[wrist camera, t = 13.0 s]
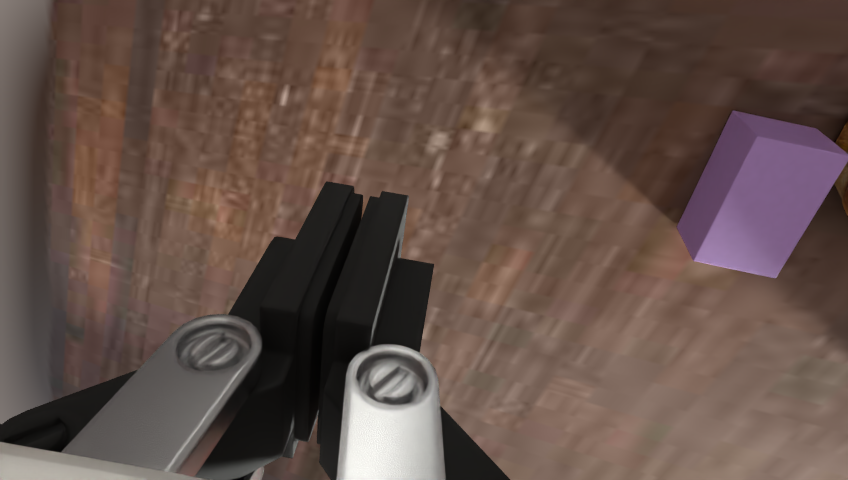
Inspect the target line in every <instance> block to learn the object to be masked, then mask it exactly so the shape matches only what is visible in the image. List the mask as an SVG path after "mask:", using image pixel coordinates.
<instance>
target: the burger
mask: <svg viewBox="0 0 848 480" xmlns="http://www.w3.org/2000/svg"><path fill="white" fill-rule="evenodd" d="M835 144H836V145H838V146H839V147H840V148H841V149H842V150H844V151H845V152H846V153H847V154H848V121H847V123H846V124H845V126H844V128H843V130H842V131H841V133H840V135H839V137H838V138H837V140H836V143H835ZM834 184H835V186H836V188H837V191H838V193H839V195H840V197H841V198H842V204H843V207H844V210H845V212H846V214H847V216H848V162H847V163H846V165H845V166H844V168H843V170H842V171H841V173H840V175H839V176H838V178H837V179H836V181H835V183H834Z"/></svg>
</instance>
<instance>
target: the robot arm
mask: <svg viewBox="0 0 848 480" xmlns="http://www.w3.org/2000/svg"><path fill="white" fill-rule="evenodd" d="M408 198H409V196H407V195H402V194H396V193H390V192H385V191H382V192H381V195H380V198H378V197H372V196H370V198H369V201H368V204H367V206H366V209H365V211H364V214H363V217H362V206H363V195H361V194H355V193H354V186H350V185H344V184H339V183H333V182H326V183H325V184H324V186H323V188H322V190H321V192H320V194H319V196H318V198H317V199H316V201H315V203H314V205H313V207H312V209H311V211H310V213H309V215H308V216H307V218H306V220H305V222H304V224H303V226H302V228H301V230H300V232H299V233H298V235H297V237H296V239H295V240H294V239H289V238H283V237H274V239H273V240H272V241H271V243H270V244H269V246H268V248H267V249H266V251H265V253H264V255H263V256H262V258H261V260H260V261H259V263H258V265H257V266H256V268H255V270H254V272H253V273H252V275H251V277H250V278H249V280H248V282H247V283H246V285H245V287H244V289H243V290H242V292H241V294H240V295H239V297H238V299H237V300H236V302H235V304H234V305H233V307H232V309H231V311H230V312H229V314H228V315H227V314H216V315H207V316H203V317H199V318H195V319H193V320H191V321H189V322H187V323H185V324H183V325H182V326H180V327H179V328H178V329H177V330H175V331H174V332H173V333H172V334H171V335H170V336H169V337H168V338H167V340H166V341H165V342H164V343H163V344H162V345H161V346H160V347H159V348H158V349H157V350H156V351H155V352H154V353H153V354H152V356H151V357H150V358H149V359H148V360H147V361H146V362H145V363H144V364H143V365H142V366H141V367H140V368H139V369H138V370H136V371H133V372H130V373H128V374H125V375H122V376H120V377H117V378H114V379H111V380H109V381H106V382H103V383H100V384H98V385H95V386H92V387H90V388H87V389H84V390H81V391H79V392H76V393H73V394H71V395H68V396H65V397H62V398H60V399H57V400H54V401H52V402H49V403H46V404H43V405H41V406H38V407H35V408H33V409H30V410H27V411H25V412H23V413H21V414H19V415H17V416H14V417H12V418H10V419H9V420H7V421H6V422H5V423H3V424H0V480H261V479H262V476H263V473H264V465H266V464H268V463H270V462H272V461H274V460H276V459H278V458H280V457H288V458H293V455H294V452H295V450H296V447H297V444H298V441H299V440H300V441H305V442H308V441H309V440H310V437H311V434H312V431H313V428H314V425H315V422H316V419H317V416H318V429H317V444H320V459H319V463H320V465H321V466H322V467H323V469H324V470H325V472H326V473H327V474H328V476H329V477H330V479H331V480H510V479H509V478H508V477H507V476H506V475H505V474H504V473H503V472H502V470H501V469H500V468H499V467H498V466H497V465H496V464H495V463H494V462H493V461H492V460H491V459H490V458H489V457H488V456H487V455H486V454H485V452H484V451H483V450H482V449H481V448H480V447H479V446H478V445H477V444H476V443H475V442H474V441H473V440H472V439H471V438H470V437H469V436H468V435H467V433H466V432H465V431H464V430H463V429H462V428H461V427H460V426H459V425H458V424H457V423H456V422H455V421H454V420H453V419H452V418H451V417H450V415H449V414H448V413H447V412H446V411H445V410H444V409H443V408H442V407H441V406H440V398H439V385H438V377H437V374H436V370H435V368H434V367H433V365H432V364H431V363H430V361H429V360H428V359H427V358H426V357H424V356H423V355H422V354H420V353H419V352H420V346H421V340H422V334H423V328H424V322H425V316H426V310H427V304H428V298H429V292H430V286H431V280H432V274H433V268H434V264H430V263H425V262H419V261H413V260H408V259H402V258H400V257H401V250H402V243H403V236H404V228H405V221H406V214H407V207H408ZM361 217H362V219H361Z"/></svg>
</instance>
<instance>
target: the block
mask: <svg viewBox="0 0 848 480" xmlns="http://www.w3.org/2000/svg"><path fill="white" fill-rule="evenodd" d="M847 162H848V154H847V153H846V152H845V151H844V150H842V149H841V148H840V147H839V146H838V145H836V144H835V143H834V142H833V141H831V140H830V139H829V138H828V137H826V136H825V135H824V134H823V133H822V132H820V131H819V130H818V129H817V128H812V127H808V126H803V125H798V124H794V123H789V122H784V121H780V120H775V119H771V118H766V117H761V116H757V115H752V114H747V113H743V112H738V111H732V113H731V115H730V117H729V119H728V121H727V123H726V125H725V127H724V129H723V131H722V133H721V136H720V138H719V140H718V142H717V144H716V146H715V148H714V150H713V152H712V154H711V156H710V159H709V161H708V163H707V165H706V167H705V169H704V171H703V173H702V175H701V177H700V179H699V182H698V184H697V186H696V188H695V190H694V192H693V194H692V196H691V198H690V200H689V202H688V204H687V207H686V209H685V211H684V213H683V215H682V217H681V219H680V221H679V223H678V225H677V229H678V231H679V233H680V235H681V237H682V239H683V241H684V243H685V245H686V247H687V249H688V251H689V253H690V255H691V257H692V259H693V260H694V261H697V262H702V263H706V264H711V265H716V266H720V267H725V268H730V269H734V270H739V271H744V272H748V273H753V274H757V275H762V276H767V277H771V278H776V277H777V275H778V274H779V272H780V270H781V269H782V267H783V266H784V264H785V262H786V261H787V259H788V257H789V256H790V254H791V253H792V251H793V249H794V248H795V246H796V244H797V243H798V241H799V240H800V238H801V236H802V235H803V233H804V231H805V230H806V228H807V227H808V225H809V223H810V222H811V220H812V218H813V217H814V215H815V214H816V212H817V210H818V209H819V207H820V205H821V204H822V202H823V201H824V199H825V197H826V196H827V194H828V192H829V191H830V189H831V188H832V186H833V184H834V183H835V181H836V179H837V178H838V176H839V175H840V173H841V171H842V170H843V168H844V166H845V165H846V163H847Z"/></svg>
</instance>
